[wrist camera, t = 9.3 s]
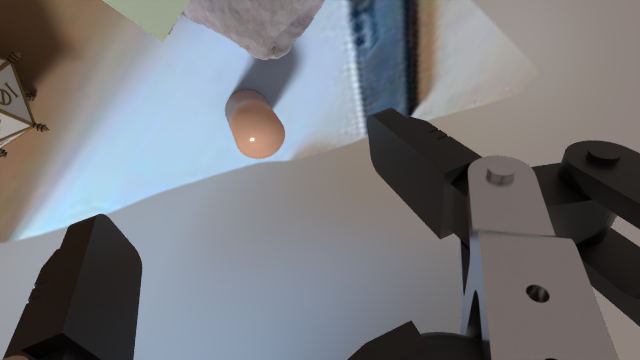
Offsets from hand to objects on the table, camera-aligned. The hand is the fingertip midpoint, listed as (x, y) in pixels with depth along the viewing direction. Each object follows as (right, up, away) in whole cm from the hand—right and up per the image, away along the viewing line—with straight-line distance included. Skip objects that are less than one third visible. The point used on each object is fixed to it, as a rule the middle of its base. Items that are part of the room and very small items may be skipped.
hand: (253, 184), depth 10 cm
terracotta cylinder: (-5, +7, +23) cm, 25 cm away
